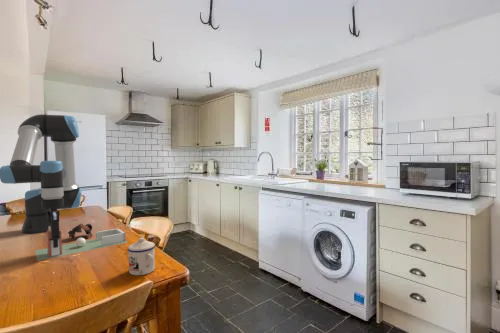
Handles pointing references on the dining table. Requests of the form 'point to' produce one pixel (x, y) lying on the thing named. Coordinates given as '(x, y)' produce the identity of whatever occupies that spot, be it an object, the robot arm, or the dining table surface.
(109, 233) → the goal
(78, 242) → the ball
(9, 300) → the dining table surface
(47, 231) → the red tall block
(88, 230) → the pottery mug
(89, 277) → the dining table surface
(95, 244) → the felt mat
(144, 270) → the teacup with lid
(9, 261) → the dining table surface
